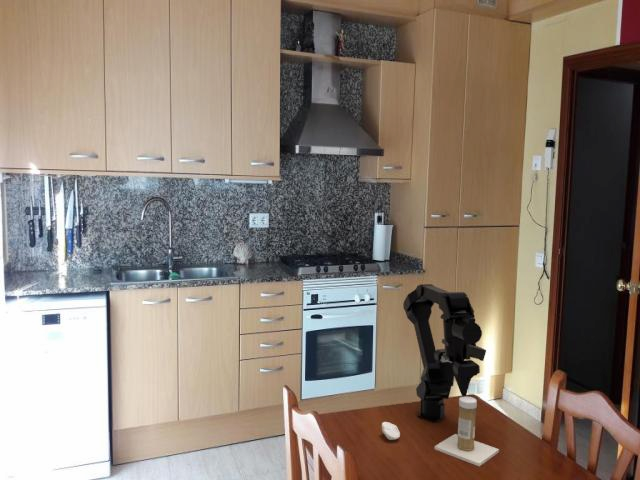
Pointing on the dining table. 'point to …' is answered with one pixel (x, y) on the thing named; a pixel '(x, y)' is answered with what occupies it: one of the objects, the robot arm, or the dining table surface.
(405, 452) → the dining table surface
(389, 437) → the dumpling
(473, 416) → the sprinkles bottle
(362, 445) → the dining table surface
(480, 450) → the ceramic tile
